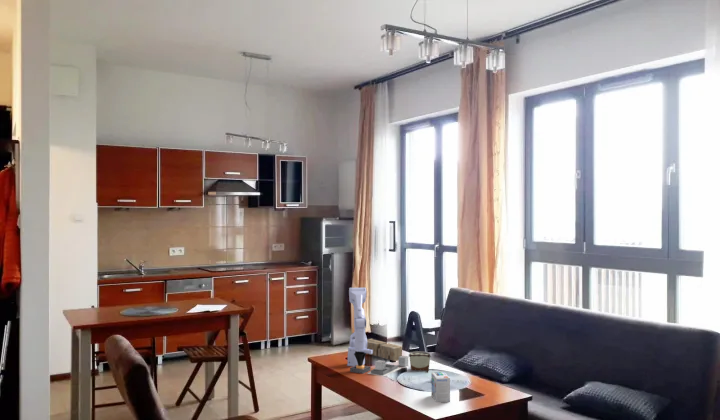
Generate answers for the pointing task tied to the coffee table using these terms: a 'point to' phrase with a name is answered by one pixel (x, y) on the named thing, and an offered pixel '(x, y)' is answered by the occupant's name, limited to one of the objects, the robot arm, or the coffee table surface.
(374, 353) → the block tower
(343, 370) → the coffee table surface
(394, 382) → the coffee table surface
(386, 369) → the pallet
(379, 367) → the seated billet
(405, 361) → the billet
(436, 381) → the light bulb box
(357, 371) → the button housing
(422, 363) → the food container
